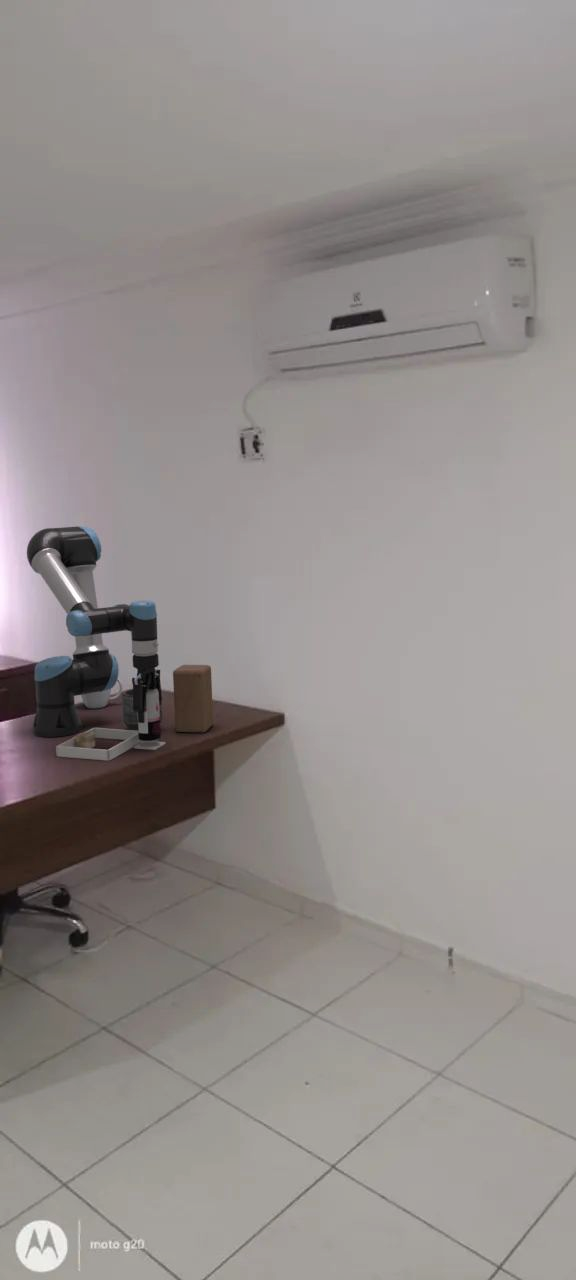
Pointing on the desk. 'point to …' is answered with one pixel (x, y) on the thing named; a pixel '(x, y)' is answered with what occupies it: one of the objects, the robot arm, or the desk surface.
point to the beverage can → (152, 717)
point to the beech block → (85, 740)
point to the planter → (128, 712)
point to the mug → (99, 698)
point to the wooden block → (193, 698)
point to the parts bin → (99, 754)
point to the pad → (150, 745)
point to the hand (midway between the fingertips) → (149, 729)
